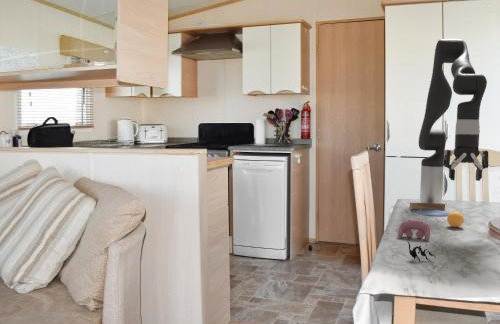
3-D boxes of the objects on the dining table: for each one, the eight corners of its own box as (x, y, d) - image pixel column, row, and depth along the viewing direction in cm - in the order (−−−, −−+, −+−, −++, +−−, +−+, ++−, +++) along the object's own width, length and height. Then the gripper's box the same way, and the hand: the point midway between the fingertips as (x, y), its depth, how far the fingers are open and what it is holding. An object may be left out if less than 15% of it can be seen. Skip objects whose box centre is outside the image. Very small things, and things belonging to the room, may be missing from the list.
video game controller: (430, 244, 161) (431, 223, 163) (429, 240, 157) (430, 219, 159) (398, 240, 165) (400, 220, 167) (396, 237, 161) (399, 216, 163)
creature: (428, 259, 142) (401, 254, 142) (432, 241, 142) (406, 236, 141) (440, 268, 135) (412, 262, 134) (445, 249, 134) (418, 243, 133)
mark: (412, 209, 210) (412, 209, 210) (444, 210, 210) (444, 209, 209) (421, 215, 197) (421, 215, 197) (455, 216, 197) (455, 216, 197)
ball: (444, 225, 181) (445, 210, 181) (459, 225, 181) (460, 210, 181) (449, 228, 176) (450, 213, 175) (465, 228, 176) (466, 213, 175)
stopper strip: (409, 208, 213) (410, 202, 212) (443, 209, 212) (443, 203, 212) (411, 209, 211) (411, 203, 210) (444, 209, 210) (445, 204, 210)
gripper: (483, 133, 174) (481, 179, 175) (442, 132, 174) (440, 178, 176) (493, 133, 166) (490, 182, 167) (449, 133, 167) (447, 181, 168)
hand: (465, 180), depth 171 cm, fingers open, 8 cm apart
